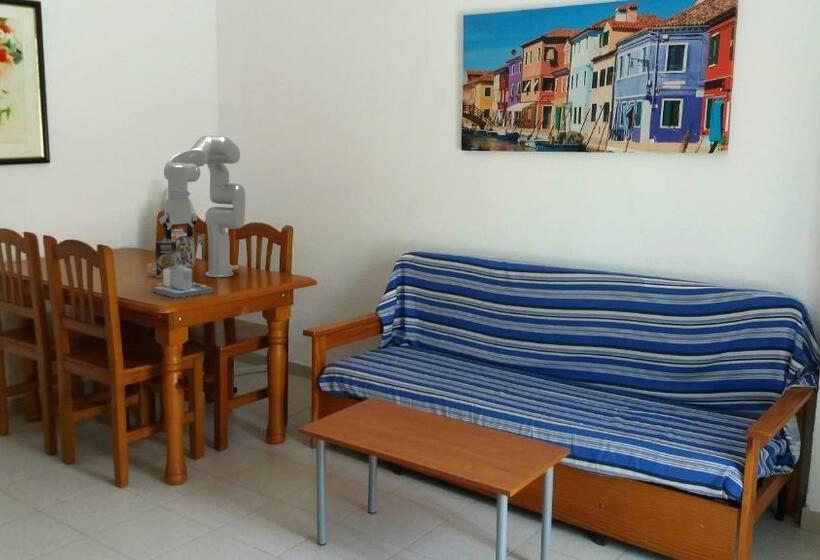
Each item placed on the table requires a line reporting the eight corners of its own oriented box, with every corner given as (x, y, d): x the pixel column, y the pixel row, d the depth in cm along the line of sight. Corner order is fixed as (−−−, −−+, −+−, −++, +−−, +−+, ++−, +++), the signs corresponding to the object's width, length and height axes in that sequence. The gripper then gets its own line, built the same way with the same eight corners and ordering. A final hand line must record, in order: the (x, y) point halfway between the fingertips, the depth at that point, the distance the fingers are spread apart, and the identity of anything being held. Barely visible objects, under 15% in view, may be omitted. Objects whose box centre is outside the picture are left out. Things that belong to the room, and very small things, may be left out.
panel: (190, 286, 347) (189, 279, 347) (213, 292, 336) (212, 285, 335) (152, 291, 334) (152, 284, 333) (174, 298, 323) (174, 290, 322)
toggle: (172, 284, 339) (171, 266, 337) (178, 286, 335) (178, 267, 334) (163, 285, 336) (163, 267, 334) (170, 287, 333) (169, 268, 331)
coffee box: (156, 278, 363) (155, 242, 360) (156, 275, 369) (155, 240, 366) (177, 277, 365) (176, 242, 362) (177, 275, 371) (176, 240, 368)
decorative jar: (195, 266, 394) (195, 230, 390) (173, 269, 386) (172, 231, 382) (184, 263, 402) (183, 227, 399) (162, 265, 395) (161, 229, 391)
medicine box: (191, 289, 330) (193, 269, 328) (183, 291, 327) (184, 270, 324) (178, 284, 334) (179, 264, 332) (169, 286, 331) (171, 265, 328)
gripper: (191, 193, 333) (192, 235, 336) (153, 196, 320) (155, 238, 323) (201, 195, 328) (202, 237, 331) (164, 197, 315) (165, 241, 318)
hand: (179, 237), depth 327 cm, fingers open, 9 cm apart
